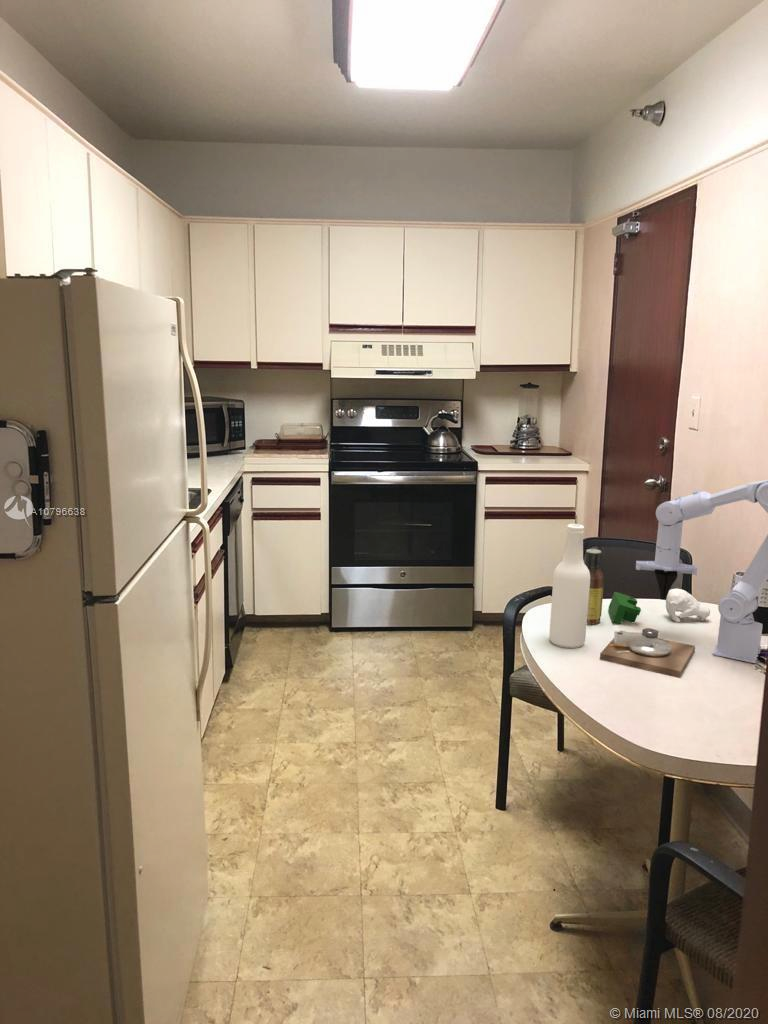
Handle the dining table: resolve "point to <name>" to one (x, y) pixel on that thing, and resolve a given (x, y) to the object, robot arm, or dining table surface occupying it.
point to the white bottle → (570, 593)
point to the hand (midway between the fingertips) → (662, 598)
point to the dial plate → (651, 658)
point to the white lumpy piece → (685, 605)
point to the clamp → (623, 608)
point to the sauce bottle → (594, 586)
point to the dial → (643, 642)
